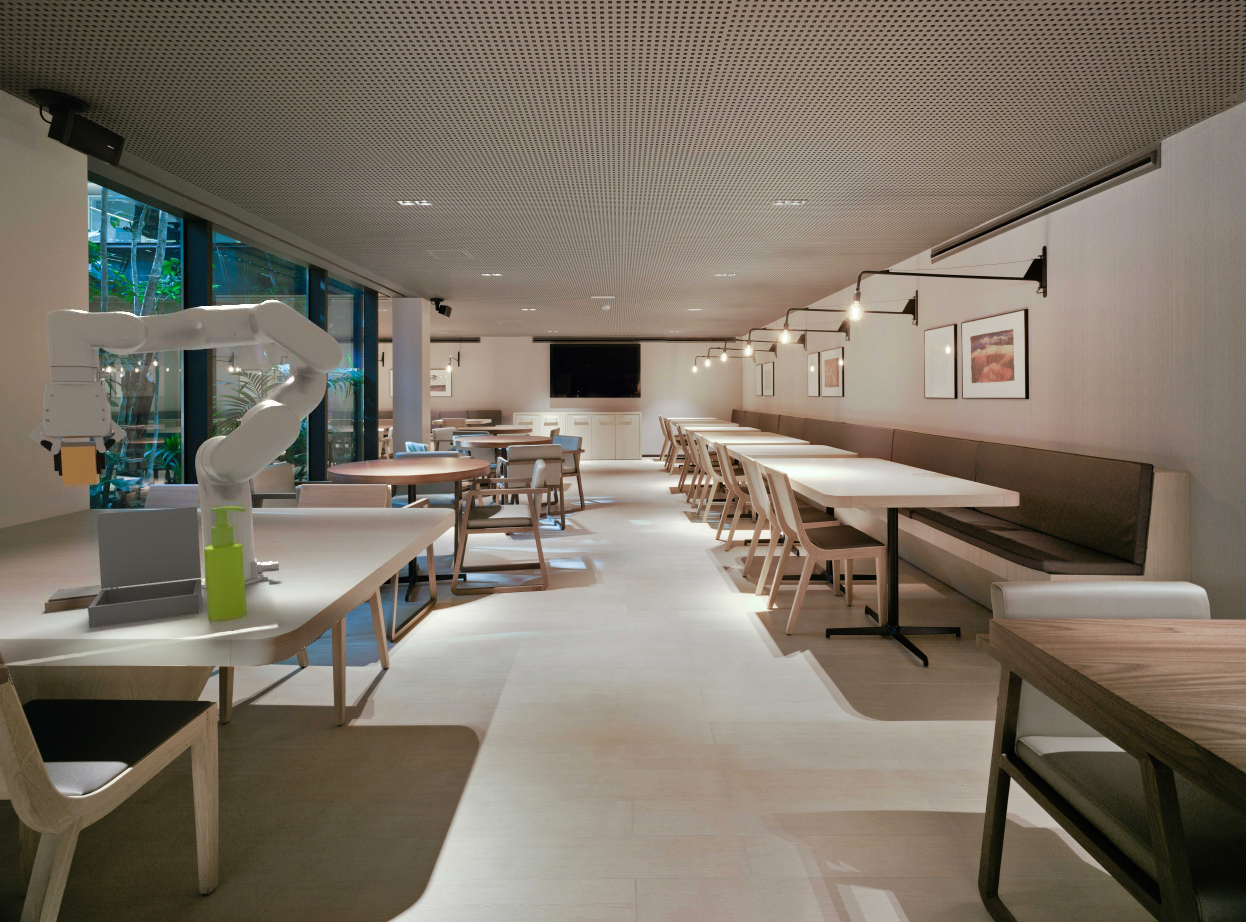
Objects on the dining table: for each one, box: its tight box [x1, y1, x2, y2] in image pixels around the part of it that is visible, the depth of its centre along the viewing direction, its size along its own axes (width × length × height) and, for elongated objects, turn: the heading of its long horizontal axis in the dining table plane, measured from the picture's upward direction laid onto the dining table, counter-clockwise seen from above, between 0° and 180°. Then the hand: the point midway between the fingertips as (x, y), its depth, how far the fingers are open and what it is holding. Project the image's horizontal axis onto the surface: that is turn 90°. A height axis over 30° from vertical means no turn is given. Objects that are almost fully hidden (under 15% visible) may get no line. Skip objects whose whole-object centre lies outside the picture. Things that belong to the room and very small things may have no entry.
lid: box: [96, 506, 202, 589], centre depth 137 cm, size 16×14×1 cm
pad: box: [44, 584, 119, 613], centre depth 138 cm, size 10×10×3 cm
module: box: [61, 440, 101, 487], centre depth 134 cm, size 5×5×8 cm
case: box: [87, 578, 203, 629], centre depth 130 cm, size 16×14×4 cm
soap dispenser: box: [203, 506, 247, 622], centre depth 125 cm, size 6×7×20 cm
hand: (81, 473), depth 134 cm, fingers closed on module, 5 cm apart
